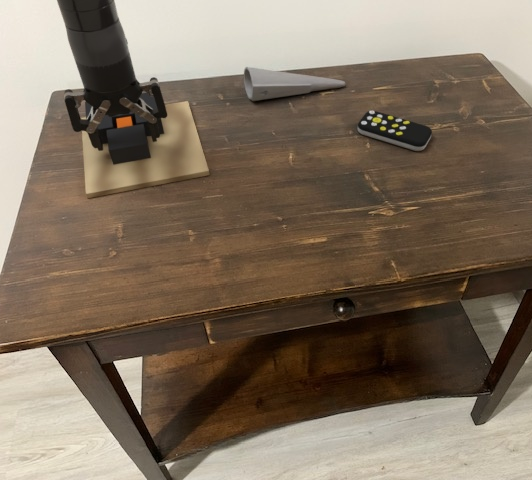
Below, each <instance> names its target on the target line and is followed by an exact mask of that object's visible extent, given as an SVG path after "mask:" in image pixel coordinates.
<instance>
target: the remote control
mask: <svg viewBox="0 0 532 480" xmlns="http://www.w3.org/2000/svg"><path fill="white" fill-rule="evenodd" d="M357 132H358V133H359V134H360V135H362V136H365V137H369V138H373V139H375V140H379V141H382V142H385V143H388V144H391V145H395V146H398V147H401V148H405V149H407V150H411V151H413V152H414V151H415V152H421V151H423V150H424V149H425V148H427V145H428V143H429V141H430V140H431V138H432V135H433V131H432V128H431V127H429V126H428V125H425V124H422V123H418V122H415V121H411V120H407V119H404V118H401V117H398V116H393V115H390V114H387V113H384V112H381V111H378V110H377V111H376V110H368V111H366V112H365V113H364V115H363V116H362V117H361V118H360V120H359V121H358V123H357Z"/></svg>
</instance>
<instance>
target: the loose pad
mask: <svg viewBox="0 0 532 480" xmlns="http://www.w3.org/2000/svg"><path fill="white" fill-rule="evenodd" d="M116 120H117V128H116V129H110V130H106V132H107V141H108V149H109V153H110V156H111V159H112V162H113V164H120V163H125V162H131V161H137V160H142V159H148V158H151V155H150V150H149V145H148V140H147V135H146V132H145V128H144V124H140V125H134V126H133V122H132V119H131V116H130V117H124V118H118V119H116Z"/></svg>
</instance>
